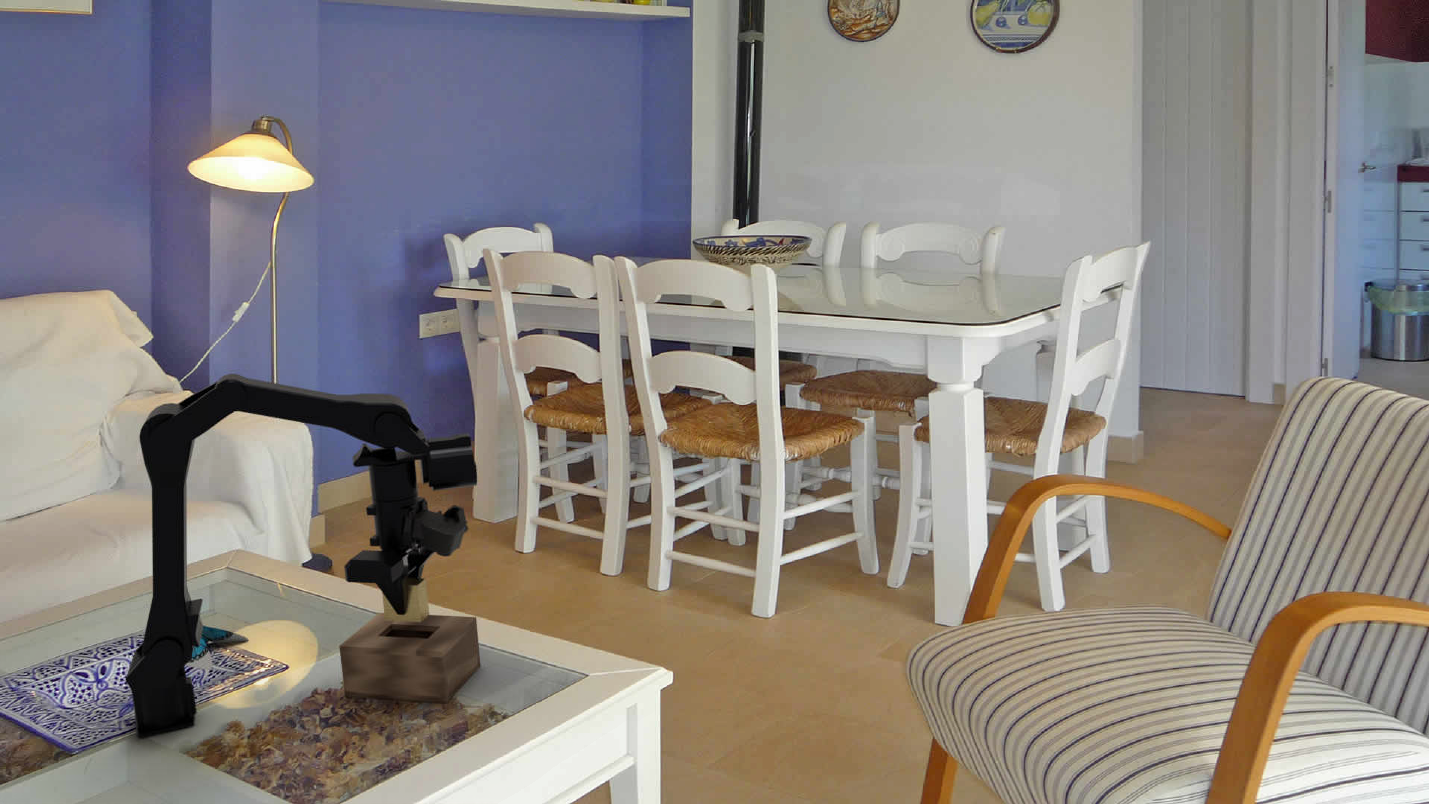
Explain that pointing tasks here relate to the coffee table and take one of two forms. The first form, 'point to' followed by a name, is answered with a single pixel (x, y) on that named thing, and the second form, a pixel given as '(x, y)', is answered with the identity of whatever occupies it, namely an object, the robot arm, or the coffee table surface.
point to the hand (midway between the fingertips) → (406, 610)
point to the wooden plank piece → (410, 603)
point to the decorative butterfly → (202, 654)
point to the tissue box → (410, 658)
